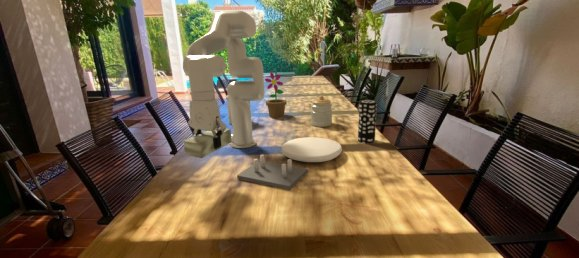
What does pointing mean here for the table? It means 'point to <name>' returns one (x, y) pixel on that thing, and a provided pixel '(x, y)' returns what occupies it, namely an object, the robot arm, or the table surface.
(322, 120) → the jar
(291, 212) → the table surface
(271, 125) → the table surface
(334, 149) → the plate
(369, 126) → the spotted tube
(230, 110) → the utensil holder
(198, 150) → the pale green rectangular block
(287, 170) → the peg stand
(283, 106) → the flowerpot
